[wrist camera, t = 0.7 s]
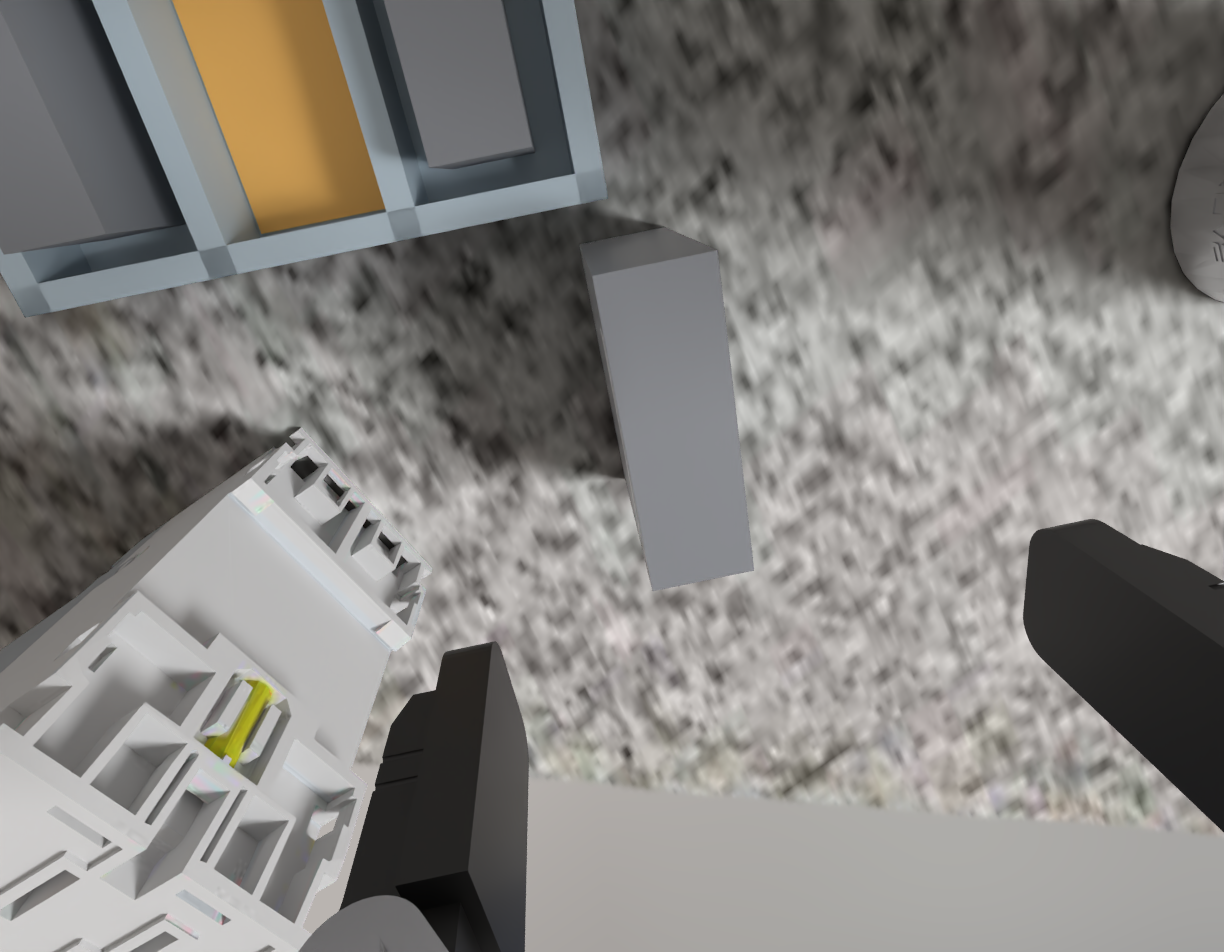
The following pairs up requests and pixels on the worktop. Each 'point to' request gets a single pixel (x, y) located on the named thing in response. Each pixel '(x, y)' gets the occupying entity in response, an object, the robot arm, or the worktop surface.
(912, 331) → the worktop surface
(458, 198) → the rack
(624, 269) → the rectangular block
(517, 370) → the worktop surface
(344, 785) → the circuit breaker
